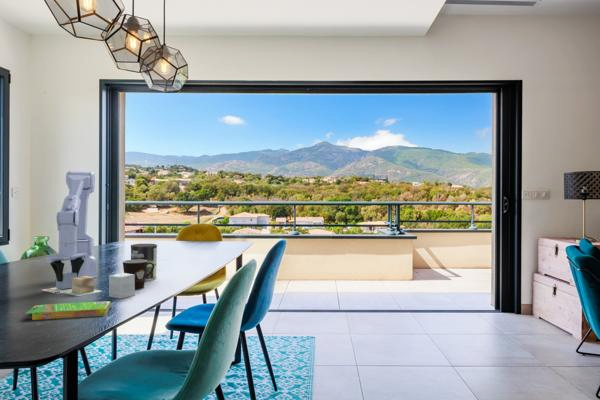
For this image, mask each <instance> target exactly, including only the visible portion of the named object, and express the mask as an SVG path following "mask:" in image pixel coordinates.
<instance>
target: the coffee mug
mask: <svg viewBox="0 0 600 400" xmlns="http://www.w3.org/2000/svg"><path fill="white" fill-rule="evenodd" d="M148 264H152V266H153V268H152V270H151V272H150V273H148V274H147V275H146V268H147V265H148ZM122 267H123V268H122V269H123V273H127V274H134V275H135V291H137V290H142V289H144V288H145V283H146V281H145V278H146V277H147V276H149V275H150V274H151V273H152V271H153V270H154V264H153V263H150V262H149V263H147V260H141V259H136V260H131V259H126V260H123V261H122Z"/></svg>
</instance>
